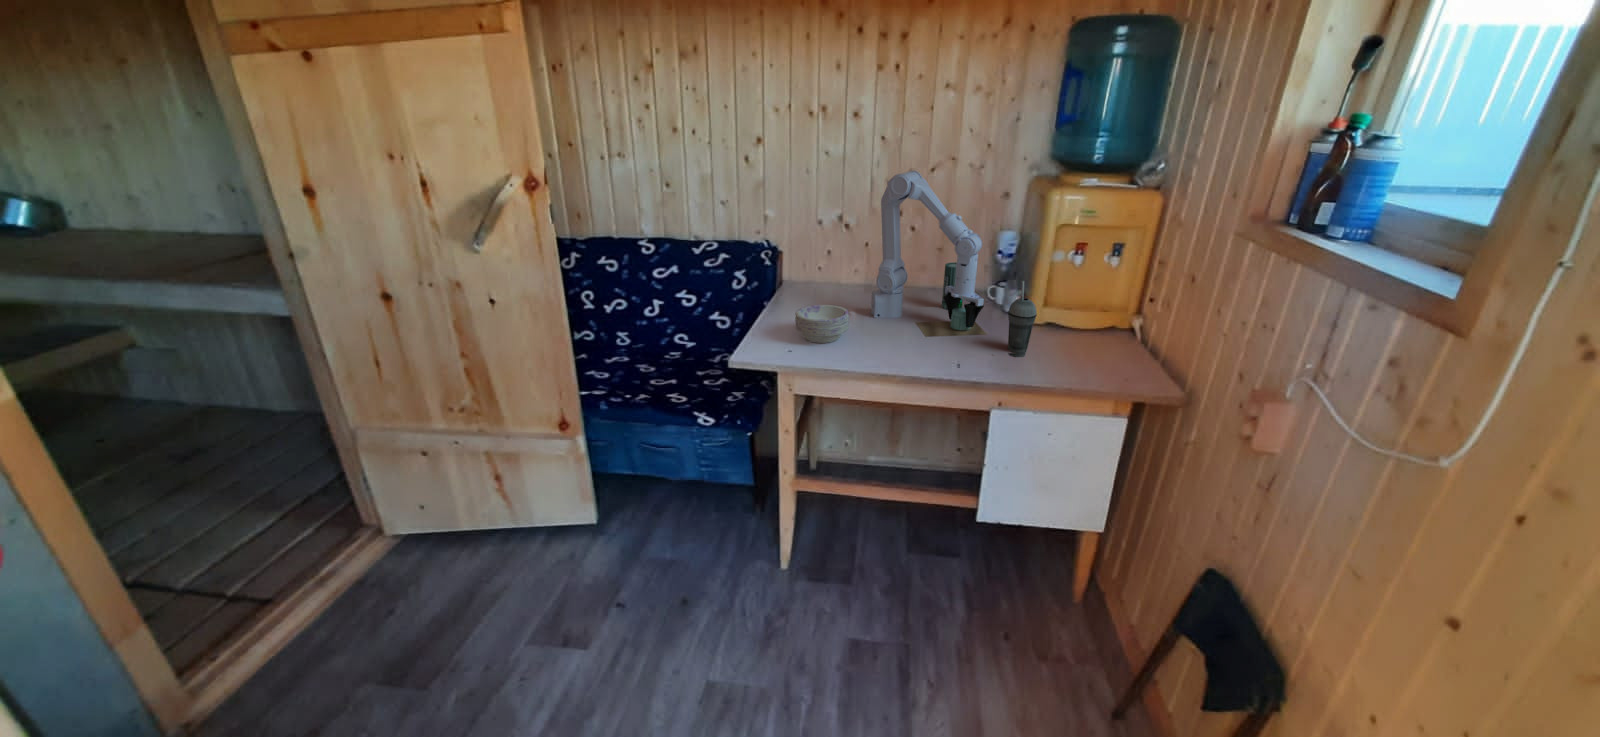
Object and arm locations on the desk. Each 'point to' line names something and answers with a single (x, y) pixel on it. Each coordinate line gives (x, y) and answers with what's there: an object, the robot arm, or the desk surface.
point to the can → (949, 281)
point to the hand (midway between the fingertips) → (961, 322)
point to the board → (947, 329)
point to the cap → (959, 319)
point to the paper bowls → (822, 322)
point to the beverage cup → (1020, 325)
